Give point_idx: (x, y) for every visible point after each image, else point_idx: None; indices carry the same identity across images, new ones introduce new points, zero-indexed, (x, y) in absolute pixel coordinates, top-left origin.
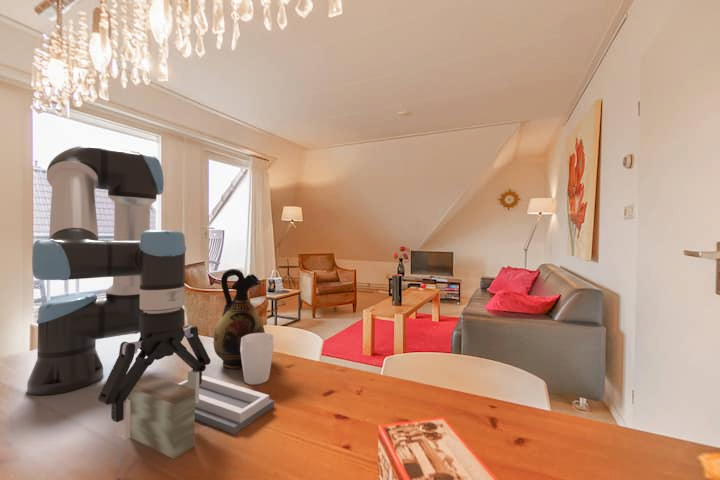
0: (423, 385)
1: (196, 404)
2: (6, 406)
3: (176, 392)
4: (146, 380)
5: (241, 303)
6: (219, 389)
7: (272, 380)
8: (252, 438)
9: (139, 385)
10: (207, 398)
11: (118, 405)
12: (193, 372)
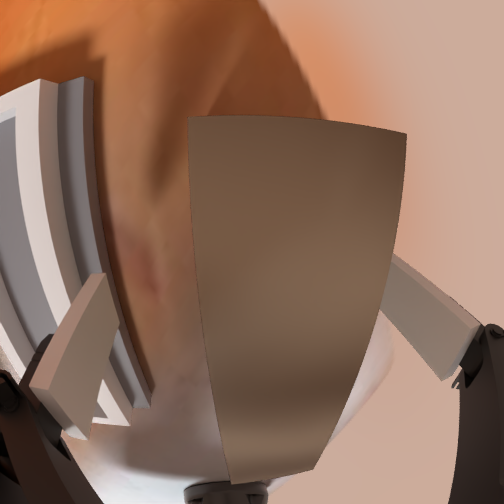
0: None
1: None
2: (293, 476)
3: (325, 237)
4: (275, 465)
5: None
6: (14, 326)
7: None
8: (88, 25)
9: (322, 447)
10: (53, 297)
11: (479, 328)
12: (61, 408)
